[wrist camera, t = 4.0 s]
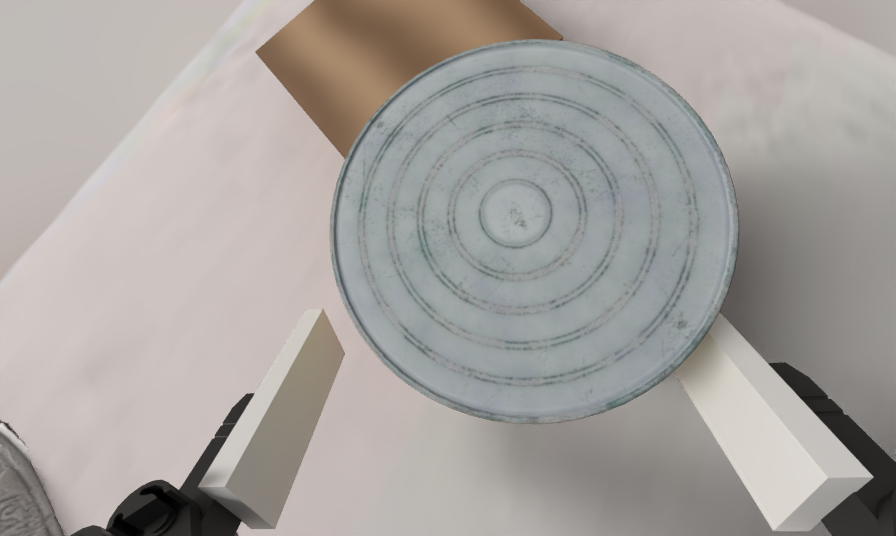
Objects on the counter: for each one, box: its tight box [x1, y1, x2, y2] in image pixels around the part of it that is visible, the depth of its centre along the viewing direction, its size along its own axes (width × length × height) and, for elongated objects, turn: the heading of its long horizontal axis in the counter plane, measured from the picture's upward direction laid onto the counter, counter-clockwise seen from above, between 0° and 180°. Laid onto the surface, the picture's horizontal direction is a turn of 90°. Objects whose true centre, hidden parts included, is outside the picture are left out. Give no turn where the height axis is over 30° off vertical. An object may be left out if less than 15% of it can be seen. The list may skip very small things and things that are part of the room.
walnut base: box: [256, 0, 563, 159], centre depth 22 cm, size 14×14×4 cm
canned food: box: [330, 39, 739, 424], centre depth 15 cm, size 11×11×12 cm
